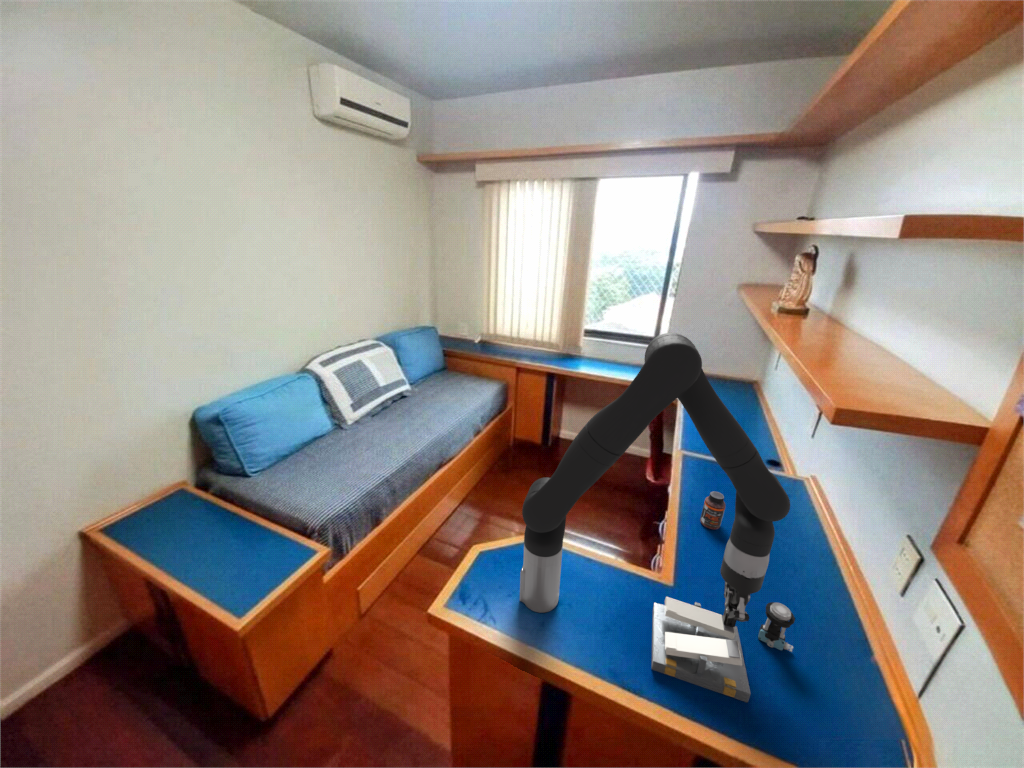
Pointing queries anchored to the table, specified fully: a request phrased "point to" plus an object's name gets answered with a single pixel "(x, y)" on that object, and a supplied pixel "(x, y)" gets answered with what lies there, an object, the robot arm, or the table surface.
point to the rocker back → (697, 617)
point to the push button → (776, 626)
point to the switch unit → (696, 670)
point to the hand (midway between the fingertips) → (728, 623)
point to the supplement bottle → (713, 510)
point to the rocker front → (703, 648)
